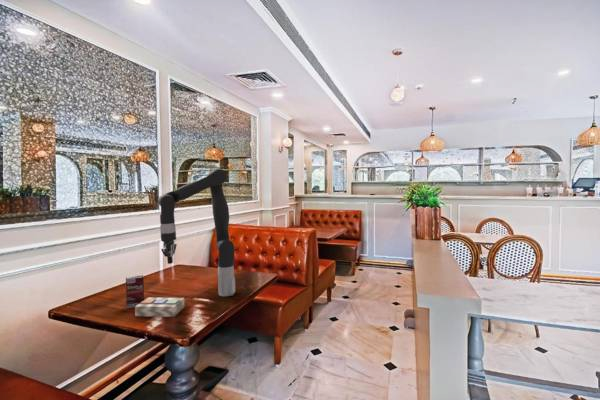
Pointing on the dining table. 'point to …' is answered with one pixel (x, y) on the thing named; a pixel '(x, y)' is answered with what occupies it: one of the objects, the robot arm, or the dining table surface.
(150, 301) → the tile terracotta
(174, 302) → the tile sage
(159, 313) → the tile board
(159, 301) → the pale blue cube
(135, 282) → the supplement box
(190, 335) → the dining table surface
